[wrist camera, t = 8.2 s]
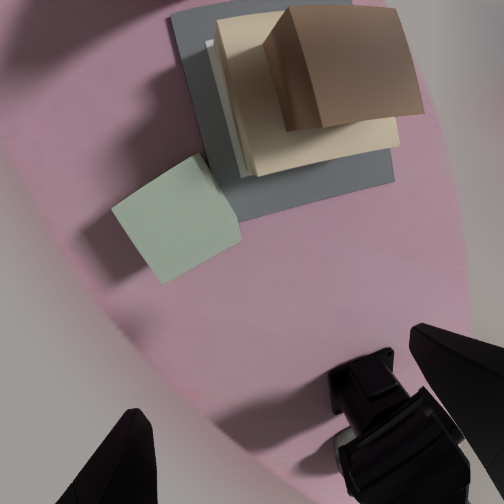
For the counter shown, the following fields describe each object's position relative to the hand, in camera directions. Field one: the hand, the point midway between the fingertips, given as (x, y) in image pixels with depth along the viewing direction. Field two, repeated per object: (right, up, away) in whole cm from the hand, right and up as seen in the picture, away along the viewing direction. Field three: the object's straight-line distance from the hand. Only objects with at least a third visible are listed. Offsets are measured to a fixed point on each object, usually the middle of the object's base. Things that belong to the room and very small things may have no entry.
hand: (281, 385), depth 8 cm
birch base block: (+2, +14, +8) cm, 16 cm away
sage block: (-5, +7, +9) cm, 13 cm away
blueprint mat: (+2, +14, +8) cm, 16 cm away
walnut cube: (+2, +12, +4) cm, 13 cm away
